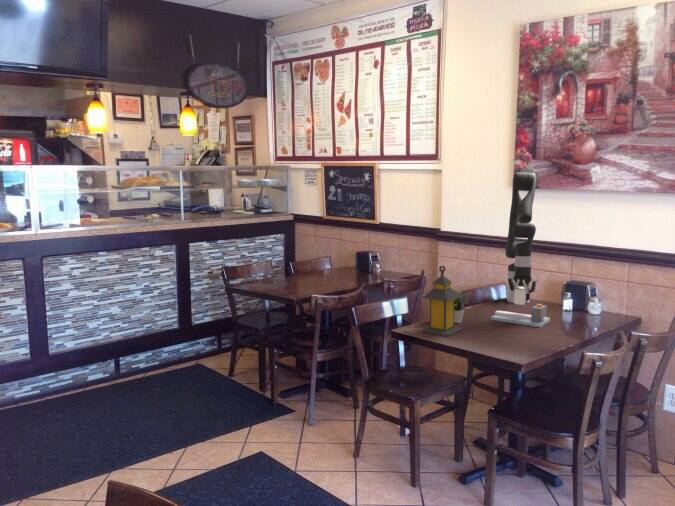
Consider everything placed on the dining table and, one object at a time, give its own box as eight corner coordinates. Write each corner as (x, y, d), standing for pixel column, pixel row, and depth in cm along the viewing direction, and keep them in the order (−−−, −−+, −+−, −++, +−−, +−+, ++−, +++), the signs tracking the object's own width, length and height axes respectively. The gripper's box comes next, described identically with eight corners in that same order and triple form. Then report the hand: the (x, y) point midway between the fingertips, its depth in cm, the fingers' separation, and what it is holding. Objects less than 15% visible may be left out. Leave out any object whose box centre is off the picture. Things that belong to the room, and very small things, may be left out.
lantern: (436, 325, 283) (436, 262, 278) (463, 330, 274) (464, 265, 269) (420, 332, 272) (420, 266, 268) (447, 337, 263) (448, 269, 259)
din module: (520, 300, 292) (520, 287, 291) (529, 301, 289) (529, 288, 288) (514, 303, 286) (514, 289, 285) (523, 305, 283) (523, 290, 282)
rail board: (502, 314, 302) (502, 296, 301) (550, 321, 287) (550, 302, 286) (490, 319, 291) (491, 301, 290) (539, 327, 276) (540, 307, 275)
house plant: (472, 326, 279) (473, 292, 277) (442, 325, 282) (443, 291, 280) (472, 319, 293) (472, 286, 291) (443, 318, 296) (443, 285, 293)
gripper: (540, 265, 284) (539, 300, 286) (511, 262, 292) (510, 297, 295) (535, 267, 278) (533, 303, 280) (505, 264, 286) (504, 299, 289)
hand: (521, 300), depth 287 cm, fingers closed on din module, 4 cm apart
